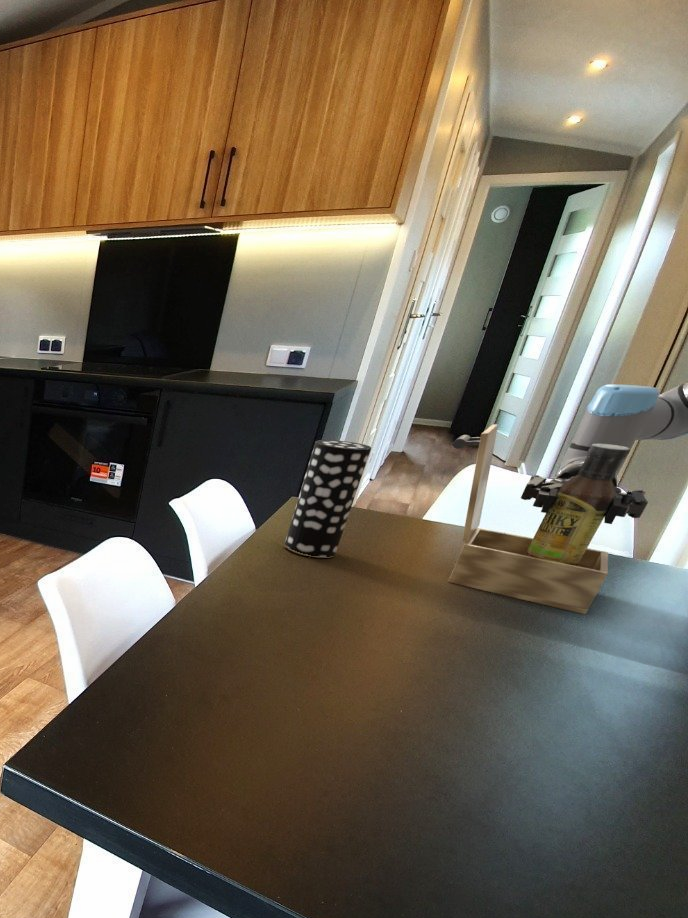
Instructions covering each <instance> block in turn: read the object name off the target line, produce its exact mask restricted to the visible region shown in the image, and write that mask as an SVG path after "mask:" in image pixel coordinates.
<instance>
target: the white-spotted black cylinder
mask: <svg viewBox="0 0 688 918" xmlns="http://www.w3.org/2000/svg"><path fill="white" fill-rule="evenodd" d="M371 450H372V447H371V445H368V444H363V443H358V442H353V441H345V440H333V439H332V440H331V439H320V440H316V441H315V442H314V445H313V450H312V452H311V455H310V458H309V462H308V466H307V469H306V472H305V475H304V477H303V482H302V484H301V485H302V486H301V489H300V492H299V494H298V498H297V501H296V505H295V508H294V511H293V514H292V518H291V522H290V525H289V528H288V531H287V535H286V538H285V541H284V544H285V545H286V546H287V547H288V548H290V549H292V550H295V551H297V552H300V553H303V554H308V555H311V556H320V557H330V556H334V555H335V556H336V554H337V550H338V547H339V544H340V541H341V538H342V536H343V532H344V530H345V527H346V524H347V521H348V519H349V515H350V512H351V511H352V510H351V509H352V507H353V504H354V500H355V498H356V494H357V491H358V489H359V487H360V483H361V480H362V477H363V474H364V472H365V469H366V465H367V462H368V460H369V456H370V454H371ZM335 556H334V557H335Z"/></svg>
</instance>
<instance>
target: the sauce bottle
mask: <svg viewBox="0 0 688 918" xmlns="http://www.w3.org/2000/svg"><path fill="white" fill-rule="evenodd" d="M629 450H630V449H629V448H628V447H624V446H618V445H611V444H592V445H591V447H590V449H589V450H588V455H587V458H586V460H585V462H584V463H583V465H582V468H581V469H580V470H579V473H578V475H577V476H575V477H573V478H572V479H570V480H569V481H567V482H566V483H564V484H563V485H562V486H561V487H560V489H559V491H558V493H556V496H555V498H554V501H553V503H552V505H551V507H550V509H549V511H548V513H544V517H543V518H542V521H541V522H540V524H539V525H538V528H537V531H536V532H535V534H534V536H533V537H532V538H533V540H532V542H531V544H530V546H529V548H528V550H527V552H528V553H527V555H526V556H530V557H535V558H540V559H545V560H550V561H555V562H560V563H565V564H570V565H575V566H576V565H577V563H579V562H580V560H581V558H582V556H583V555H584V553H585V551H586V549H587V548H588V547H589V546H590V544H591V542H592V540H593V538H594V536H595V535H596V534H597V533H596V532H597V531H598V530H599V527H600V525H602V522H603V521H604V519H605V515H606V513H607V511H608V508H609V506H610V504H611V502H612V500H613V499H614V497H615V493H616V492H615V487H614V484H613V481H612V479H613V477H614V476H615V475H616V471H617V469H618V467H619V466H620V464H621V462H622V460H623V459H624V458H625V457H626V456H627V454H628V452H629ZM630 451H631V450H630ZM629 453H630V452H629ZM628 455H629V454H628ZM627 457H628V456H627Z"/></svg>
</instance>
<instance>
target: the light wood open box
mask: <svg viewBox="0 0 688 918" xmlns="http://www.w3.org/2000/svg"><path fill="white" fill-rule="evenodd" d="M533 538H534V537H529V536H523V535H518V534H512V533H507V532H502V531H496V530H490V529H486V528H482V527H481V528H480V527H478V528H477V529H476V531H475V532H474V534H473V535H472V537H471V538H470V540H469V541H468V542H465V543H463V546H462V548H461V551H460V553H459V555H458V557H457V560H456V562H455V565H454V567H453V569H452V572H451V574H450V576H449V578H448V580H447V582H448V583H451V584H454V585H458V586H462V587H468V588H472V589H476V590H480V591H485V592H487V593H488V592H489V593H492V594H498V595H501V596H506V597H510V598H515V599H519V600H523V601H526V602H531V603H535V604H540V605H544V606H548V607H552V608H557V609H560V610H565V611H570V612H574V613H578V614H582V615H586V614H587V613H588V610H589V609H590V608H591V606H592V604H593V602H594V600H595V598H596V596H597V594H598V593H599V591H600V589H601V587H602V585H603V583H604V581H605V580H606V578H607V576H608V574H609V552H608V551H604V550H598V549H592V548H588V547H587V549H586V551H585V553H584V555H583V556H582V558H581V560H580V562H579V563H577V565H576V566H575V565H570V564H565V563H560V562H555V561H550V560H545V559H540V558H535V557H530V556H526V555H527V553H528V552H527V550H528V548H529V546H530V544H531V542H532V540H533Z"/></svg>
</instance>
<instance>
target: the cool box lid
mask: <svg viewBox="0 0 688 918" xmlns="http://www.w3.org/2000/svg"><path fill="white" fill-rule="evenodd" d="M498 428H499V424H497V423H496V424H494V423H493V424H491V425H490V426H489V427H487V428H486V429H485V430H484V431H483V432H481V433H480V436H475V437H471V436H470V435H468V434H463V435H460V436H459V437H457V438H456V439H455V440H454V441H453V442H452V447H453V448H454V449H458V450H459V449H463V448H464V447H467V446H468V447H471V446H472V447H475V446H476V447H478V450H477V456H476V460H475V467H474V472H473V478H472V483H471V484H472V485H471V490H470V494H469V500H468V505H467V510H466V517H465V522H464V527H463V528H464V529H463V534H462V538H461V541H462V542H463V543H464V542H468V541H469V540H470V538H471V537H472V535H473V534H474V532H475V531H476V529H477V528H479V526H480V523H481V519H482V513H483V508H484V503H485V498H486V492H487V486H488V481H489V476H490V470H491V464H492V461H493V460H492V459H493V455H494V449H495V442H496V437H497V433H498Z"/></svg>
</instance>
